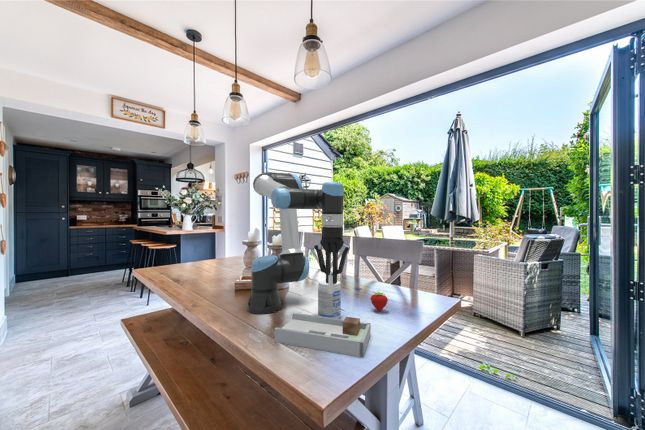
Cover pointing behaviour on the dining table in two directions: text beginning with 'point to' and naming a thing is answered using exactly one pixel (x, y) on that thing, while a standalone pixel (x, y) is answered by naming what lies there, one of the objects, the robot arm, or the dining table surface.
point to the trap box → (323, 335)
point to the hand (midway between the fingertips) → (331, 292)
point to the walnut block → (351, 326)
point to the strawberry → (379, 301)
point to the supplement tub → (329, 300)
